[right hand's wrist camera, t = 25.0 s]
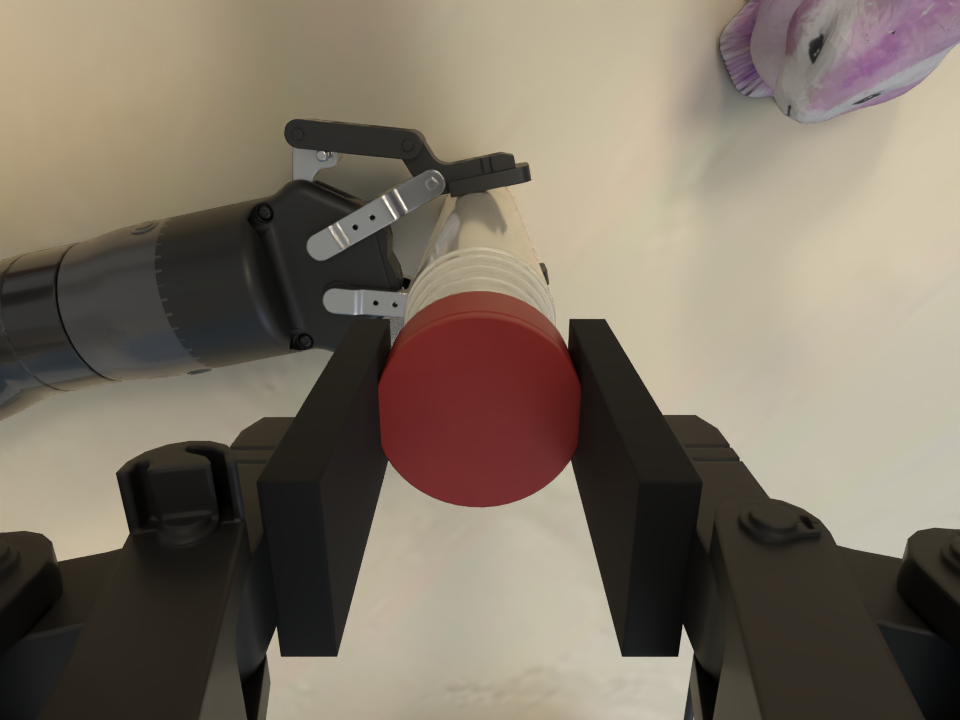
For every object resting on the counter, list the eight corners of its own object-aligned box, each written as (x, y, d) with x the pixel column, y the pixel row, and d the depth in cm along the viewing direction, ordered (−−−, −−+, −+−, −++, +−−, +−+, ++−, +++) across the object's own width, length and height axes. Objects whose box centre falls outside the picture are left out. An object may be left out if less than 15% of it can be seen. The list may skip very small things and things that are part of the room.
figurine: (685, 109, 34) (827, 107, 20) (767, -112, 31) (1007, -298, 17) (847, 160, 35) (1088, 191, 21) (944, -49, 32) (1309, -176, 18)
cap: (500, 491, 15) (502, 540, 13) (351, 399, 14) (333, 439, 13) (610, 359, 14) (629, 394, 12) (455, 251, 13) (452, 273, 11)
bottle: (504, 261, 38) (545, 512, 14) (434, 241, 37) (354, 464, 14) (527, 189, 36) (614, 334, 13) (453, 167, 36) (402, 274, 12)
